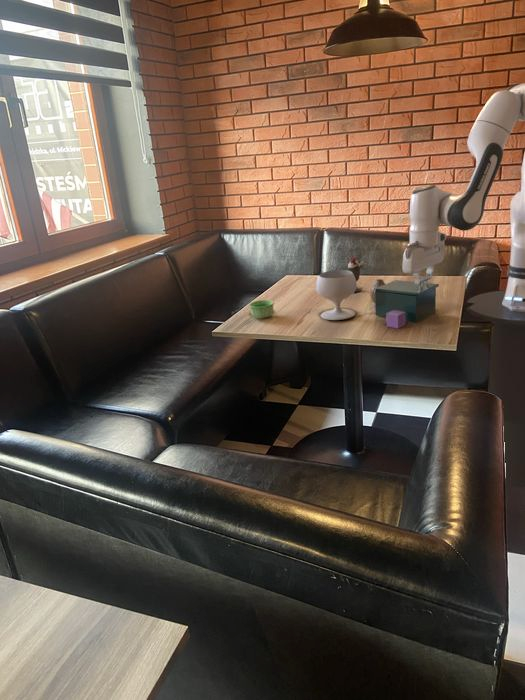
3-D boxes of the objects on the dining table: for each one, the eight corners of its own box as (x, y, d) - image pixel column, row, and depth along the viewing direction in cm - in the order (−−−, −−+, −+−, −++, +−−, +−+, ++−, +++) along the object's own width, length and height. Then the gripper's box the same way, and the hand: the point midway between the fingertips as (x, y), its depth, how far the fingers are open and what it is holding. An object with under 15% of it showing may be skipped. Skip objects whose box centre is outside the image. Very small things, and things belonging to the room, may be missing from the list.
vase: (388, 305, 195) (387, 282, 192) (369, 305, 197) (368, 282, 194) (390, 300, 201) (390, 277, 198) (372, 300, 203) (371, 277, 200)
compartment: (435, 312, 183) (436, 287, 180) (415, 322, 175) (416, 296, 172) (395, 306, 193) (395, 282, 190) (375, 315, 186) (375, 290, 182)
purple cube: (405, 324, 174) (405, 311, 172) (398, 328, 171) (398, 315, 169) (393, 322, 177) (393, 309, 175) (386, 326, 174) (386, 313, 172)
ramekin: (278, 311, 200) (277, 299, 199) (269, 318, 193) (268, 307, 191) (256, 310, 204) (255, 299, 202) (246, 318, 196) (245, 306, 195)
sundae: (350, 293, 215) (348, 256, 209) (344, 290, 221) (342, 254, 215) (365, 290, 216) (364, 253, 211) (358, 287, 222) (357, 251, 217)
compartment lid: (438, 286, 179) (438, 272, 177) (418, 295, 171) (418, 280, 169) (395, 282, 190) (395, 269, 189) (375, 290, 182) (374, 276, 181)
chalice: (326, 309, 198) (324, 269, 193) (363, 310, 191) (361, 269, 186) (312, 320, 187) (308, 278, 181) (350, 322, 180) (348, 279, 175)
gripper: (415, 245, 162) (415, 290, 166) (448, 233, 174) (447, 275, 179) (397, 244, 166) (397, 287, 171) (431, 233, 179) (430, 273, 184)
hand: (423, 281), depth 175 cm, fingers closed on compartment lid, 5 cm apart
